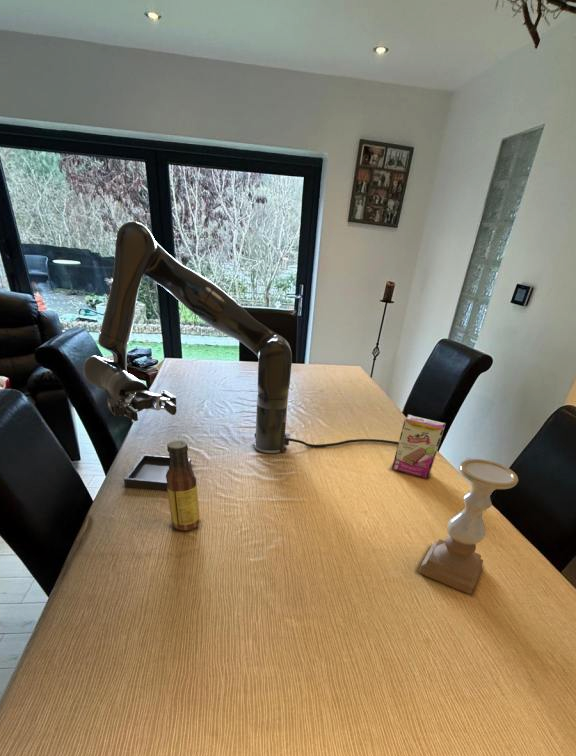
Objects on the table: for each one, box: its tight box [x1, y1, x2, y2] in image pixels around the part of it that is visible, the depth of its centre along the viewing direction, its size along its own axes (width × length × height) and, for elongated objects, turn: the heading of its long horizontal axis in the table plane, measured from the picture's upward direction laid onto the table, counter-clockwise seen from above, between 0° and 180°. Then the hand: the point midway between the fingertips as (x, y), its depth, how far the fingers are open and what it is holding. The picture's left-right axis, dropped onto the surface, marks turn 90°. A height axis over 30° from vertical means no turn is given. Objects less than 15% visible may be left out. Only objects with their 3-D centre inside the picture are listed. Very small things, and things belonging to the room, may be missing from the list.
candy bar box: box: [391, 414, 447, 480], centre depth 122 cm, size 11×5×16 cm, turn 65°
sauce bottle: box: [166, 439, 200, 532], centre depth 89 cm, size 7×6×20 cm
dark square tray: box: [123, 453, 192, 492], centre depth 112 cm, size 14×15×2 cm
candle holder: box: [418, 458, 519, 595], centre depth 82 cm, size 11×11×24 cm
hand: (155, 413), depth 90 cm, fingers open, 8 cm apart
